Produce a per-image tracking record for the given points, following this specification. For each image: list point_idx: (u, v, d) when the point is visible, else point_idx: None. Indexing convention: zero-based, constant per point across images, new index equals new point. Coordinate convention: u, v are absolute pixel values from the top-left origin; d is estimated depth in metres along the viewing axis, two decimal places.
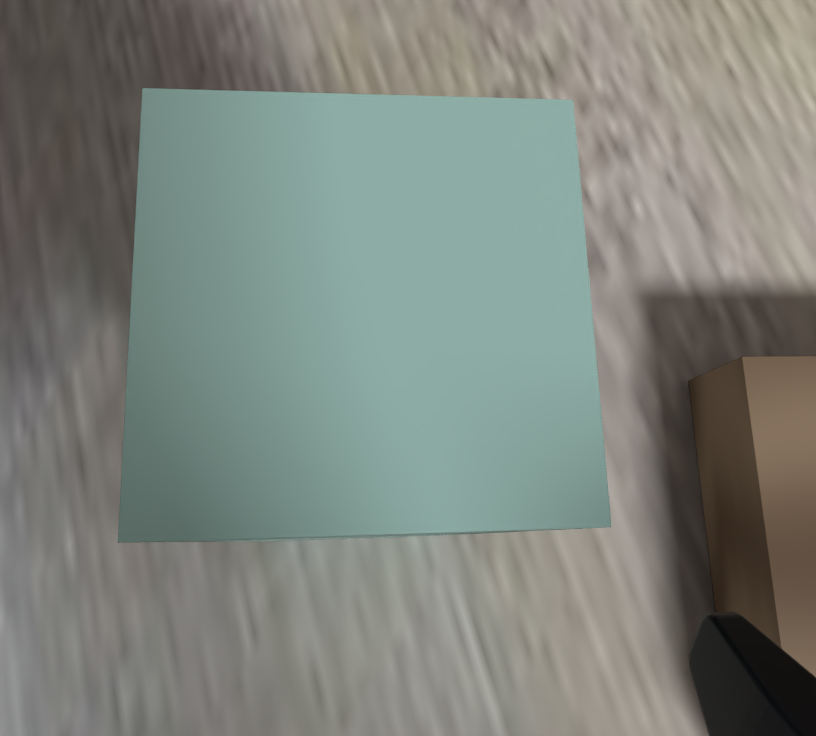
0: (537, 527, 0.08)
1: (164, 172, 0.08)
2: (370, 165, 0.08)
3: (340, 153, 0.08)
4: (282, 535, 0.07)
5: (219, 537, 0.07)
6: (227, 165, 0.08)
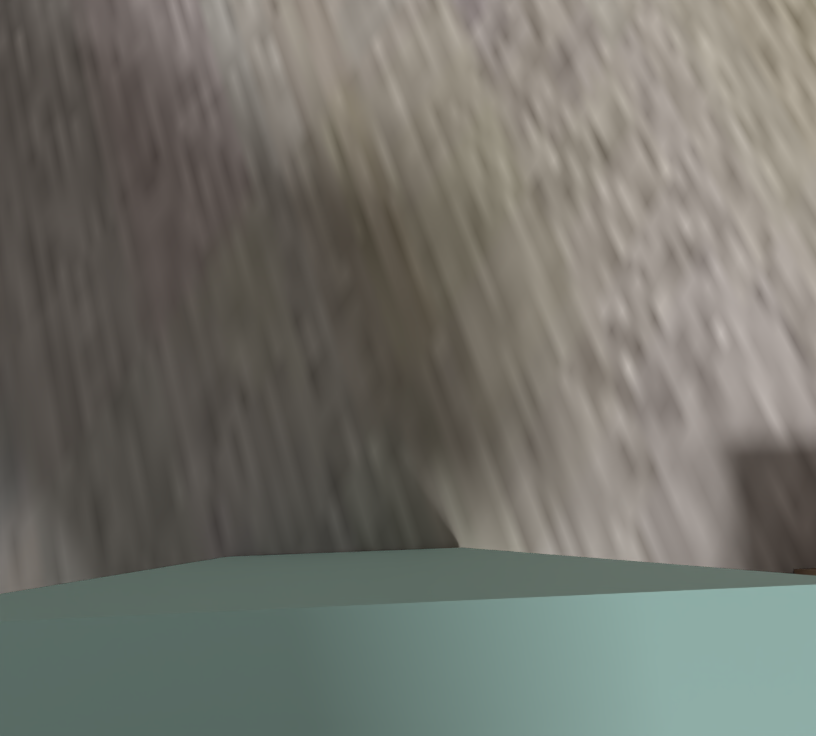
0: None
1: None
2: None
3: None
4: None
5: None
6: None
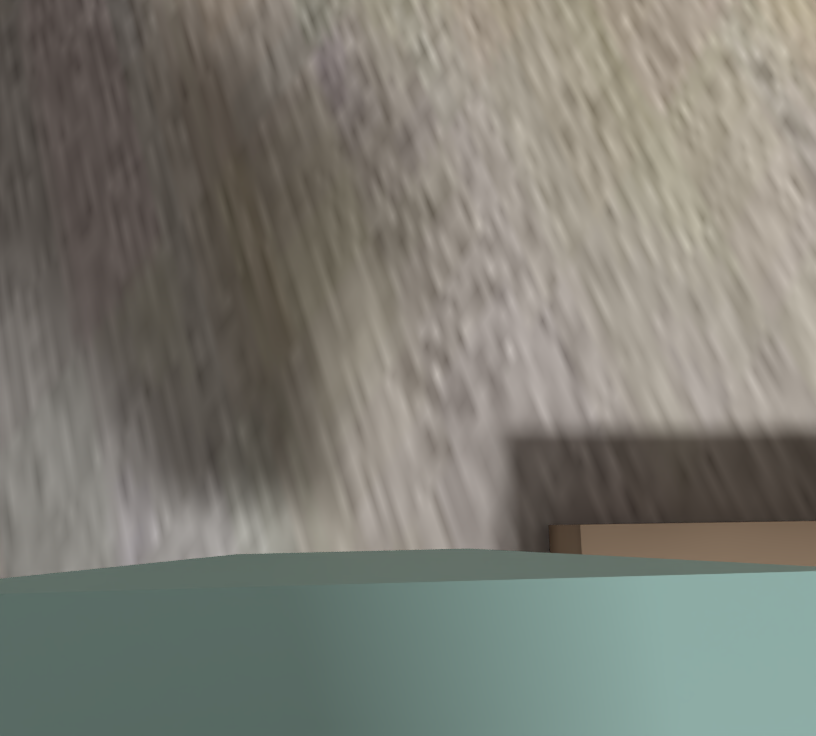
0: None
1: None
2: None
3: None
4: None
5: None
6: None
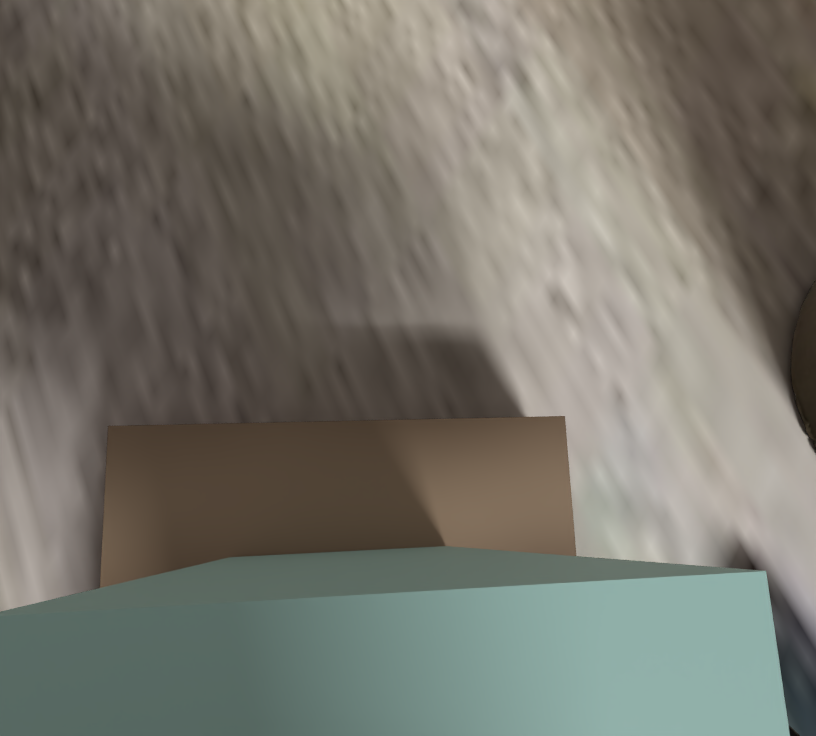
0: None
1: None
2: None
3: (356, 725, 0.05)
4: None
5: None
6: None
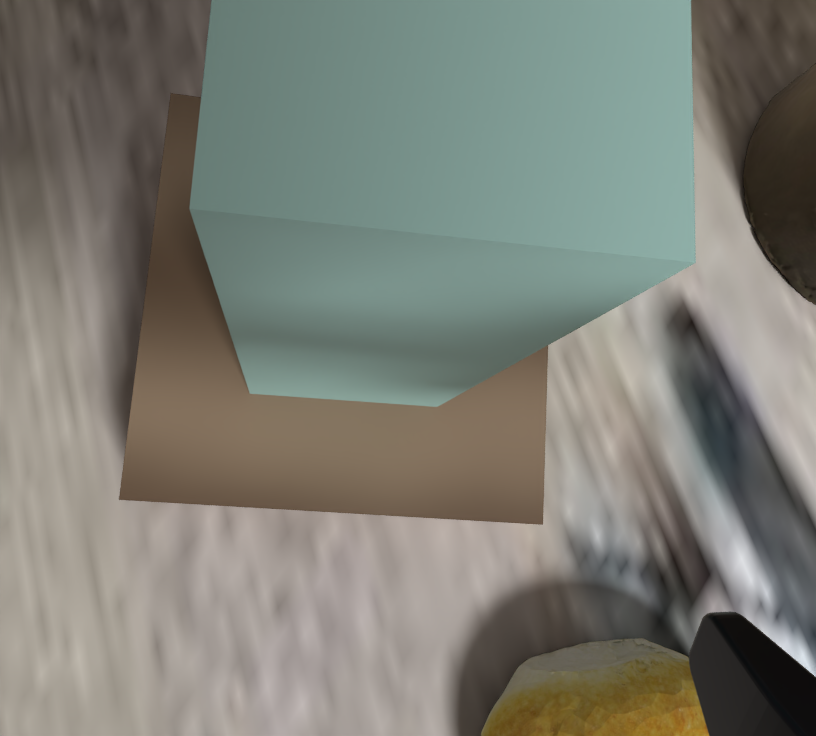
0: (622, 252, 0.07)
1: None
2: None
3: None
4: (362, 226, 0.07)
5: (297, 218, 0.07)
6: None
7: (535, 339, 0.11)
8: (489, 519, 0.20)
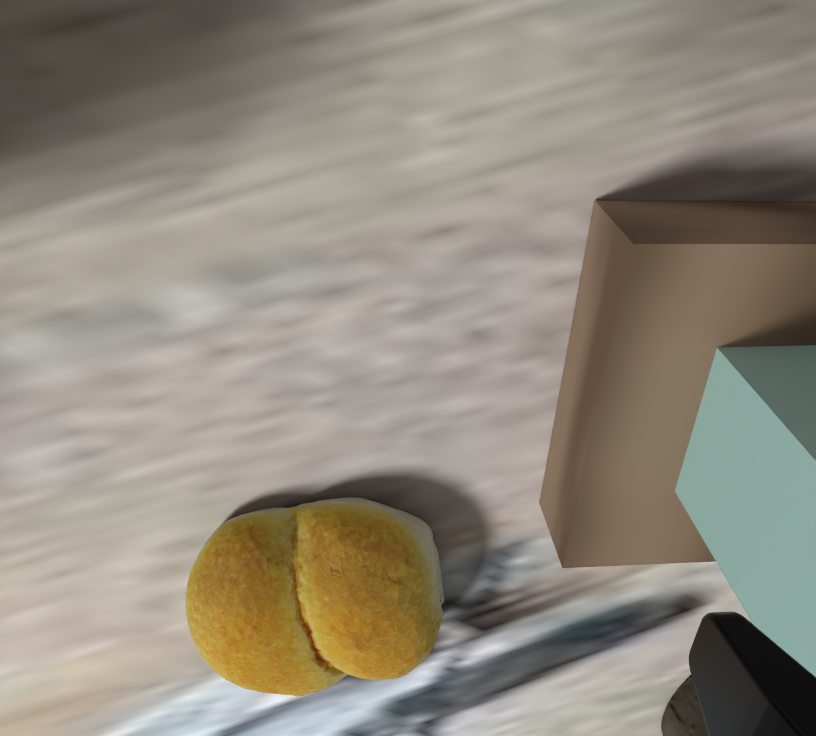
0: None
1: None
2: None
3: None
4: None
5: None
6: None
7: None
8: (571, 533, 0.23)
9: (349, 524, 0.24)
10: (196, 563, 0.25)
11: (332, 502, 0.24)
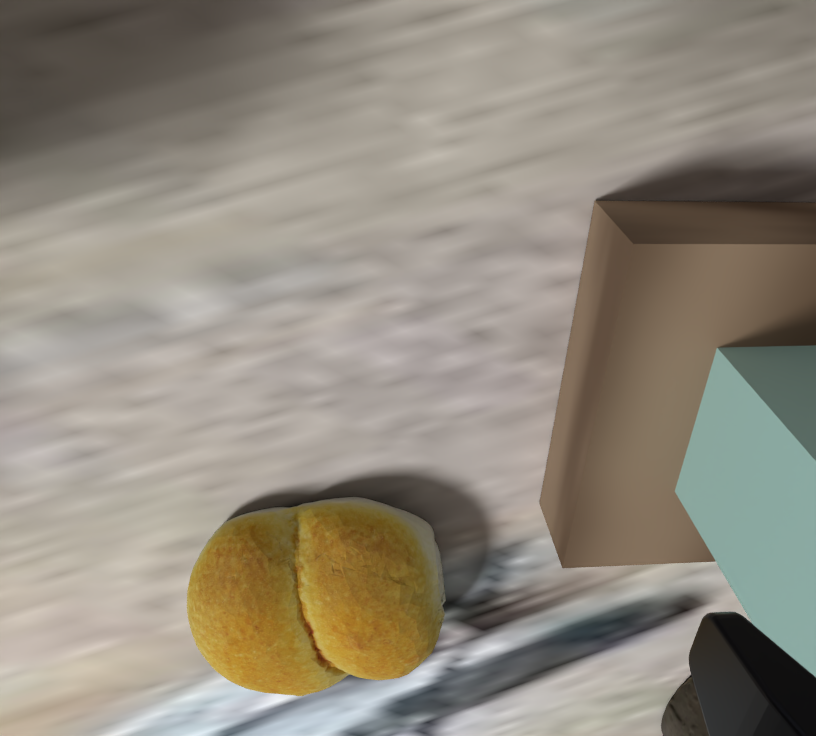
0: None
1: None
2: None
3: None
4: None
5: None
6: None
7: None
8: (571, 533, 0.23)
9: (351, 524, 0.24)
10: (197, 563, 0.25)
11: (334, 502, 0.24)
